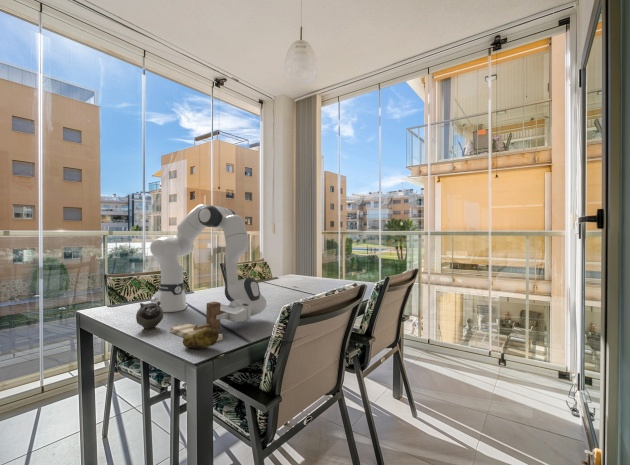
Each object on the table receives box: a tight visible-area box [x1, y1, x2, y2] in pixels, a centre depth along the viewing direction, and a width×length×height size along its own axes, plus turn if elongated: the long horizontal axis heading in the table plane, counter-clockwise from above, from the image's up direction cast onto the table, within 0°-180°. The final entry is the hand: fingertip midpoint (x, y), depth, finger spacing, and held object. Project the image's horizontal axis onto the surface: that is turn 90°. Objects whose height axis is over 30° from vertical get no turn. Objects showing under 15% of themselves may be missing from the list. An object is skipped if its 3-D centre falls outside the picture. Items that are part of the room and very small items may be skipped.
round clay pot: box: [135, 301, 164, 333], centre depth 136 cm, size 10×12×10 cm
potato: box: [182, 328, 220, 350], centre depth 117 cm, size 8×13×8 cm, turn 60°
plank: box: [169, 322, 223, 343], centre depth 131 cm, size 24×8×2 cm, turn 55°
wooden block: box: [193, 301, 222, 333], centre depth 132 cm, size 4×11×12 cm, turn 145°
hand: (211, 316), depth 134 cm, fingers closed on wooden block, 4 cm apart
